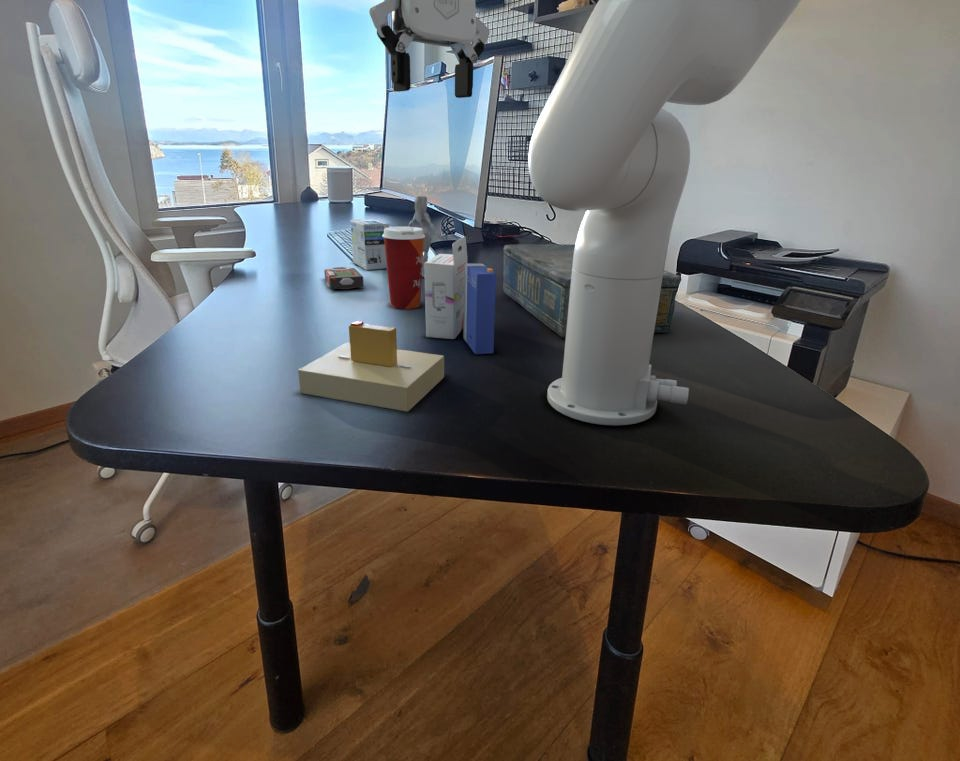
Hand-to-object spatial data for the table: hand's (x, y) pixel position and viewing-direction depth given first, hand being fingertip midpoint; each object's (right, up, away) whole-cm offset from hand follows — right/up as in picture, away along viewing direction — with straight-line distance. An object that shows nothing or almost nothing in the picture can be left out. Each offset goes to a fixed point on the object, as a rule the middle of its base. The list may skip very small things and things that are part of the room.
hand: (433, 94), depth 72 cm
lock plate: (-7, -38, -4) cm, 39 cm away
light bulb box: (-21, -9, +65) cm, 69 cm away
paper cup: (-8, -24, +31) cm, 40 cm away
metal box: (+24, -25, +30) cm, 46 cm away
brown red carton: (-24, -17, +46) cm, 55 cm away
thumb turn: (-7, -36, -6) cm, 37 cm away
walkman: (+6, -33, +11) cm, 35 cm away
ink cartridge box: (+1, -30, +17) cm, 34 cm away
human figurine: (-7, -14, +54) cm, 56 cm away
